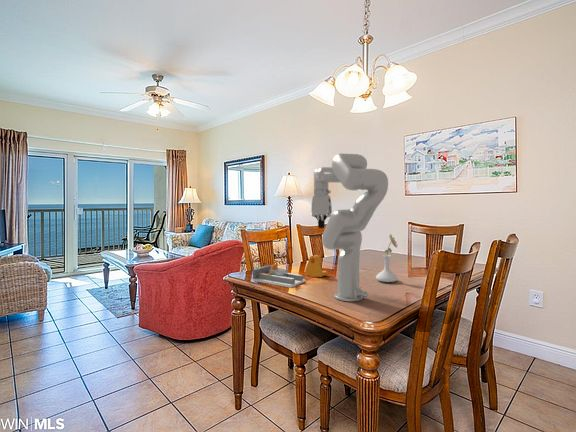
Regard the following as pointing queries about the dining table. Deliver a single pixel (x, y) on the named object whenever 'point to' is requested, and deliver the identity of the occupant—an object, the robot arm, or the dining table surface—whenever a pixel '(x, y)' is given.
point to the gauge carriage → (278, 271)
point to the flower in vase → (387, 266)
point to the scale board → (276, 277)
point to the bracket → (315, 267)
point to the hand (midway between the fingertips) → (321, 227)
